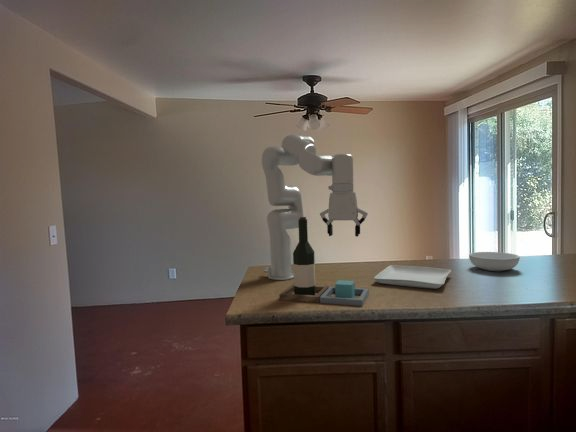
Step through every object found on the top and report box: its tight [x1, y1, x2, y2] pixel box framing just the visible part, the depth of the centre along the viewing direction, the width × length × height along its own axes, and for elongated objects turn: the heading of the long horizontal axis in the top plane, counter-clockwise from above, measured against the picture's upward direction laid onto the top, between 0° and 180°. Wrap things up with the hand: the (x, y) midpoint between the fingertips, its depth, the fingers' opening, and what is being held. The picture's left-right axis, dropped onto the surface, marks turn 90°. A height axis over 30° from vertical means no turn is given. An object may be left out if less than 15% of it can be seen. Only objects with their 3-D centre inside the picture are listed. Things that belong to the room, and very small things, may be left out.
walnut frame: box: [279, 283, 330, 304], centre depth 142 cm, size 15×15×2 cm
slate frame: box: [319, 285, 370, 307], centre depth 136 cm, size 15×15×2 cm
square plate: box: [372, 264, 452, 290], centre depth 159 cm, size 27×27×4 cm
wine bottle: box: [292, 216, 316, 296], centre depth 141 cm, size 8×8×30 cm
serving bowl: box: [468, 251, 521, 272], centre depth 175 cm, size 21×21×7 cm
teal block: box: [334, 279, 356, 298], centre depth 136 cm, size 6×6×6 cm
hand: (343, 235), depth 135 cm, fingers open, 9 cm apart
